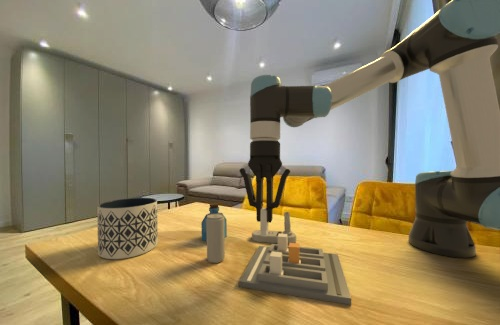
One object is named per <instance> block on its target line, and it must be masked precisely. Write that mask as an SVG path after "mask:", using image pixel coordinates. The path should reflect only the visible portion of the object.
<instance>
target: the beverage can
mask: <svg viewBox="0 0 500 325" xmlns="http://www.w3.org/2000/svg"><path fill="white" fill-rule="evenodd" d="M224 216H225V215H224V213H223V214H210V215H208V216H207V219H206V227H207V242H206V259H207V261H208V262H209V263H210V264H218V263H221V262H223V261H224V260H225V258H226V252H225V249H226V247H225V245H226V243H225V239H226V238H225V234H224Z"/></svg>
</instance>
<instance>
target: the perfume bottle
mask: <svg viewBox="0 0 500 325" xmlns="http://www.w3.org/2000/svg"><path fill="white" fill-rule="evenodd" d="M219 211H220V207H219V203H216V202H215V203H214V202H213V203H209V208H208V212H209V213H207V214H205V216H204V217H203V219H202V221H201V241H202V242H206V243H207V227H206V219H207V216H208V215H210V214H223V215H224V213H222V212H219ZM227 222H228V220H227V218H226V216H225V215H224V234H225V239H226V238H227V236H228V233H227V229H228V228H227Z"/></svg>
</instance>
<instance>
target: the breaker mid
mask: <svg viewBox="0 0 500 325" xmlns="http://www.w3.org/2000/svg"><path fill="white" fill-rule="evenodd" d="M288 246H289V258H288V262H292V263H300V264H301V260H300V252H299V247H300V243H297V242H295V243H289V244H288Z"/></svg>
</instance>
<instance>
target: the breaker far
mask: <svg viewBox="0 0 500 325" xmlns="http://www.w3.org/2000/svg"><path fill="white" fill-rule="evenodd" d="M277 244H278V249H277V250H281V251H289V249H288V246H289V244H288V237H287V234H280V233H279V234H278V243H277Z"/></svg>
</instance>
